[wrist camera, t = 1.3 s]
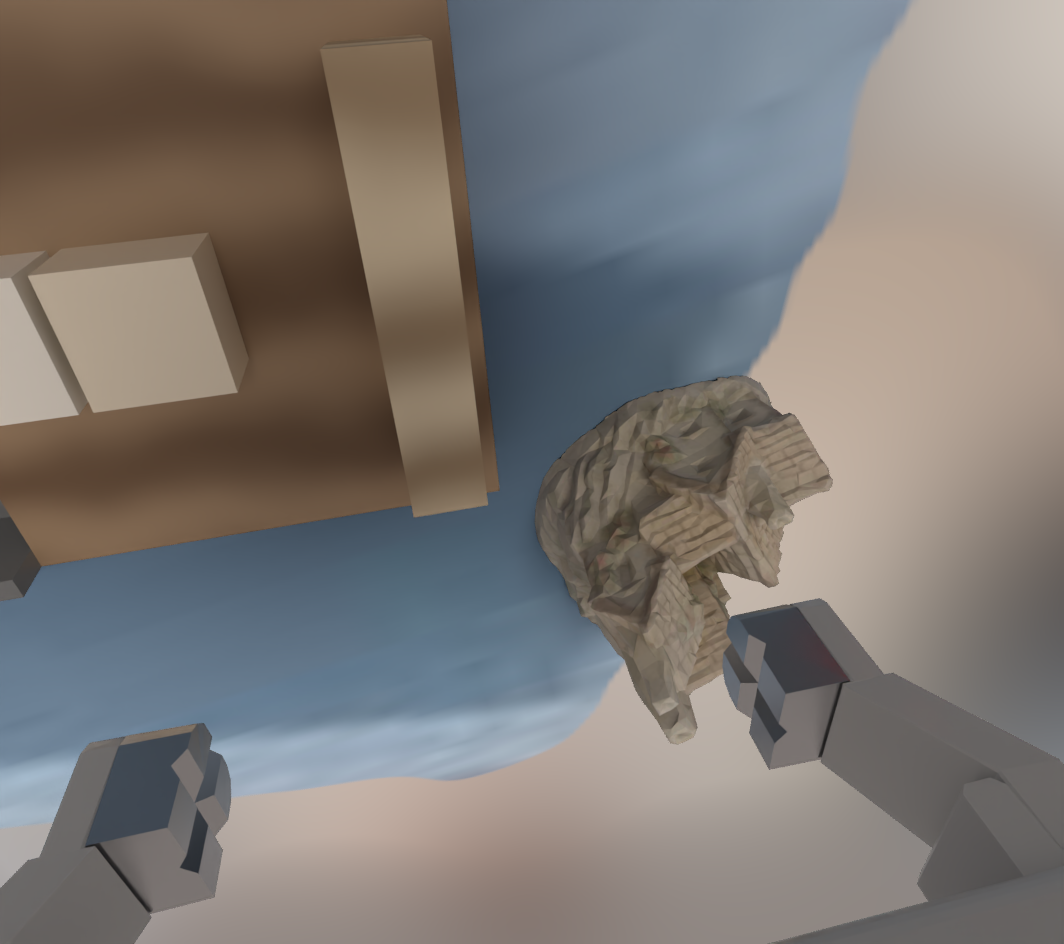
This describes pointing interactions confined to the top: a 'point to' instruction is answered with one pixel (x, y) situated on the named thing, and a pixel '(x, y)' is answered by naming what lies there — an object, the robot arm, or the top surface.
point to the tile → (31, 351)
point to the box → (14, 560)
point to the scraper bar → (410, 259)
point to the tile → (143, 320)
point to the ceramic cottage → (675, 526)
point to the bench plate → (242, 252)
